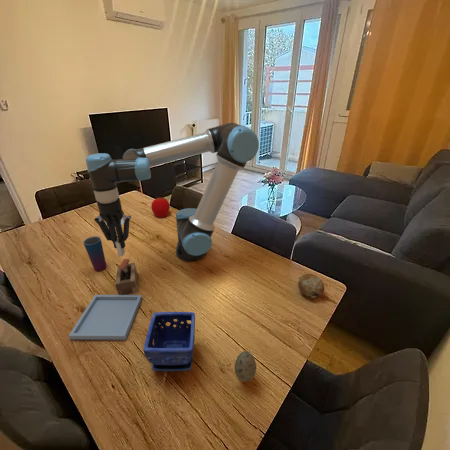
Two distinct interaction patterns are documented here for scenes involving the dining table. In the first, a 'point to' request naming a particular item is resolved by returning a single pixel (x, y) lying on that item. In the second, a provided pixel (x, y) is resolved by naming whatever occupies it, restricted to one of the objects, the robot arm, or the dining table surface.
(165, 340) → the flower pot
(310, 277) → the bread roll
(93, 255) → the cup
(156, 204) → the red apple
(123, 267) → the mallet
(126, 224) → the robot arm
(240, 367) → the decorative egg
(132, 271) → the brown hollow block
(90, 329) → the tray
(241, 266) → the dining table surface
